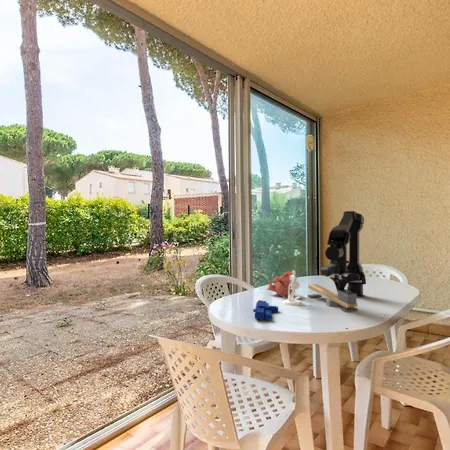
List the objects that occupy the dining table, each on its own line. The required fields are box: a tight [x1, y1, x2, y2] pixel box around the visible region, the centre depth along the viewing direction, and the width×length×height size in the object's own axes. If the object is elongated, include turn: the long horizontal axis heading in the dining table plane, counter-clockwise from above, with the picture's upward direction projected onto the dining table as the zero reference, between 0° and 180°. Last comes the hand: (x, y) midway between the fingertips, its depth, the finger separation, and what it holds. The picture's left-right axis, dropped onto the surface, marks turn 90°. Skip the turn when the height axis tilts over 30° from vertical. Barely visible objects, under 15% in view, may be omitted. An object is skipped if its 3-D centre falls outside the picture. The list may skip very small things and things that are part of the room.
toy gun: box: [252, 299, 279, 321], centre depth 137 cm, size 4×22×10 cm
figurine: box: [282, 269, 303, 307], centre depth 154 cm, size 9×9×15 cm
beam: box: [307, 283, 358, 308], centre depth 152 cm, size 5×30×2 cm, turn 17°
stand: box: [307, 293, 359, 313], centre depth 152 cm, size 7×29×2 cm, turn 17°
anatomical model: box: [266, 270, 297, 297], centre depth 170 cm, size 10×12×15 cm
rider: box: [337, 288, 358, 304], centre depth 141 cm, size 4×7×4 cm, turn 16°
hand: (339, 294), depth 146 cm, fingers closed
